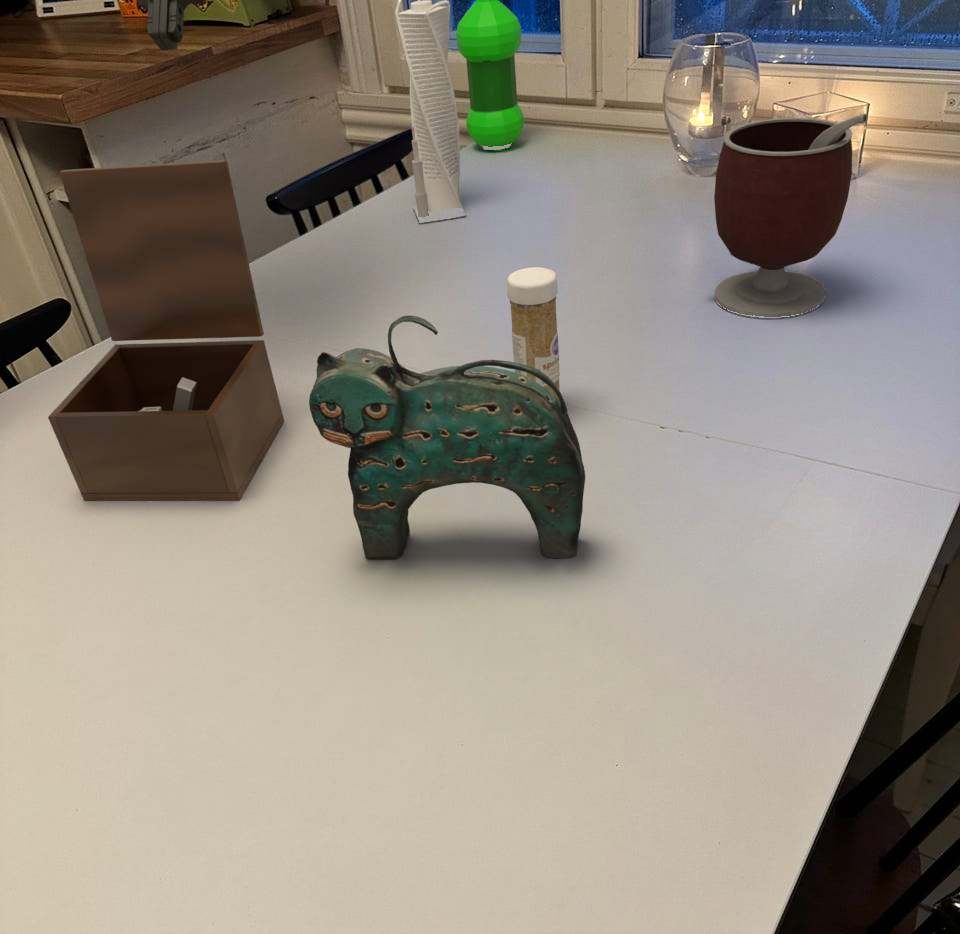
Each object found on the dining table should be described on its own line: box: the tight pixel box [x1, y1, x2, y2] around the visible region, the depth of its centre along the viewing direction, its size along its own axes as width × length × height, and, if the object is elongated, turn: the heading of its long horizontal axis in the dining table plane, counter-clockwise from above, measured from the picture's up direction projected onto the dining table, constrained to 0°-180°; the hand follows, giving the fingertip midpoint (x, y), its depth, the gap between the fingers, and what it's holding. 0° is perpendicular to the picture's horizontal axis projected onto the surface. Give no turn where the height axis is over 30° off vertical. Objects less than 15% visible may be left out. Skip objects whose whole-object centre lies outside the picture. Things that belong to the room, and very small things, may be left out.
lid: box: [59, 159, 265, 342], centre depth 89 cm, size 15×16×1 cm
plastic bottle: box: [455, 0, 525, 152], centre depth 158 cm, size 10×10×25 cm
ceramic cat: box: [308, 315, 586, 560], centre depth 73 cm, size 20×6×20 cm, turn 82°
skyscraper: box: [394, 0, 467, 225], centre depth 134 cm, size 8×8×28 cm
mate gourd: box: [713, 113, 868, 320], centre depth 103 cm, size 16×14×20 cm
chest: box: [47, 339, 285, 501], centre depth 92 cm, size 15×16×9 cm
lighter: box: [139, 377, 197, 411], centre depth 91 cm, size 7×2×8 cm, turn 86°
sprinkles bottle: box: [506, 266, 561, 402], centre depth 91 cm, size 5×5×13 cm
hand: (164, 44), depth 88 cm, fingers closed
